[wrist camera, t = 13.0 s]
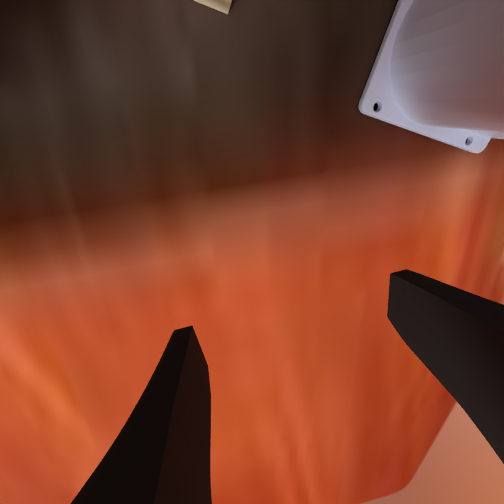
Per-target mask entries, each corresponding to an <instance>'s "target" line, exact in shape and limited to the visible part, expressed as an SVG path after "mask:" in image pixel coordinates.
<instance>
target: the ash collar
mask: <svg viewBox="0 0 504 504" xmlns="http://www.w3.org/2000/svg"><path fill="white" fill-rule="evenodd" d="M194 1H196V2H199V3H201V4H204V5H206V6H209V7H211V8H214V9H216V10H218V11H221V12H223V13H226V14H228V12H229V9H230V6H231V1H232V0H194Z"/></svg>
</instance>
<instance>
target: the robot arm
mask: <svg viewBox="0 0 504 504" xmlns="http://www.w3.org/2000/svg"><path fill="white" fill-rule="evenodd" d="M375 103H377V104H378V109H377V110H376V111H374V110H373V106H374V104H375ZM359 110H360V112H361V113H363V114H365V115H368V116H371V117H373V118H376V119H379V120H382V121H385V122H387V123H390V124H393V125H396V126H399V127H401V128H404V129H407V130H410V131H413V132H415V133H418V134H421V135H424V136H427V137H430V138H432V139H435V140H438V141H441V142H444V143H446V144H449V145H452V146H455V147H458V148H460V149H463V150H466V151H469V152H472V153H480V152H482V151H483V150H484V149H485V147H486V146H487V144H488V142H489V141H490V139H491V138H497V139H504V0H398V3H397V5H396V8H395V11H394V13H393V16H392V18H391V21H390V24H389V26H388V29H387V31H386V34H385V37H384V39H383V42H382V44H381V47H380V50H379V52H378V55H377V57H376V60H375V63H374V65H373V68H372V70H371V73H370V76H369V78H368V81H367V83H366V86H365V89H364V91H363V94H362V96H361V99H360V102H359ZM467 138H468V140H467V142H466V143H465V141H466V139H467ZM387 317H388V318H389V320H390V322H391V323H392V325H393V326H394V328H395V329H396V331H397V332H398V333H399V335H400V336H401V338H402V339H403V340H404V342H405V343H406V344H407V345H408V346H409V348H410V349H411V350H412V351H413V352H414V353H415V354H416V356H417V357H418V358H419V359H420V360H421V361H422V362H423V363H424V365H425V366H426V367H427V368H428V369H429V370H430V371H431V372H432V374H433V375H434V376H435V377H436V378H437V379H438V380H439V381H440V383H441V384H442V385H443V386H444V387H445V388H446V389H447V390H448V392H449V393H450V394H451V395H452V396H453V397H454V398H455V400H456V401H457V402H458V403H459V404H460V405H461V407H462V408H463V409H464V410H465V412H466V413H467V414H468V416H469V417H470V418H471V420H472V421H473V422H474V424H475V425H476V426H477V428H478V429H479V430H480V432H481V433H482V434H483V436H484V437H485V438H486V440H487V441H488V442H489V444H490V445H491V447H492V448H493V449H494V451H495V452H496V454H497V455H498V456H499V458H500V459H501V461H502V462H503V463H504V305H503V304H500V303H497V302H494V301H491V300H488V299H485V298H483V297H480V296H477V295H474V294H472V293H469V292H466V291H464V290H461V289H458V288H456V287H453V286H450V285H448V284H445V283H443V282H440V281H437V280H435V279H432V278H429V277H427V276H424V275H421V274H419V273H416V272H413V271H410V270H407V269H406V270H402V271H398V272H394V273H391V274H390V285H389V299H388V314H387ZM210 438H211V392H210V381H209V372H208V365H207V362H206V360H205V357H204V354H203V352H202V349H201V347H200V344H199V342H198V339H197V336H196V334H195V331H194V329H193V326H188V327H185V328H181V329H177V330H174V332H173V333H172V336H171V338H170V340H169V342H168V344H167V346H166V349H165V351H164V353H163V355H162V357H161V359H160V361H159V363H158V365H157V367H156V369H155V371H154V373H153V375H152V377H151V379H150V381H149V383H148V385H147V387H146V389H145V390H144V392H143V394H142V396H141V398H140V399H139V401H138V403H137V404H136V406H135V408H134V410H133V411H132V413H131V415H130V417H129V418H128V420H127V422H126V423H125V425H124V427H123V428H122V430H121V432H120V433H119V435H118V436H117V438H116V439H115V441H114V443H113V444H112V446H111V447H110V449H109V450H108V452H107V453H106V455H105V456H104V458H103V459H102V461H101V462H100V464H99V465H98V466H97V468H96V469H95V471H94V472H93V473H92V475H91V476H90V478H89V479H88V480H87V482H86V483H85V485H84V486H83V487H82V489H81V490H80V492H79V493H78V494H77V496H76V497H75V498H74V500H73V501H72V503H71V504H212V500H211V482H210Z"/></svg>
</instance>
